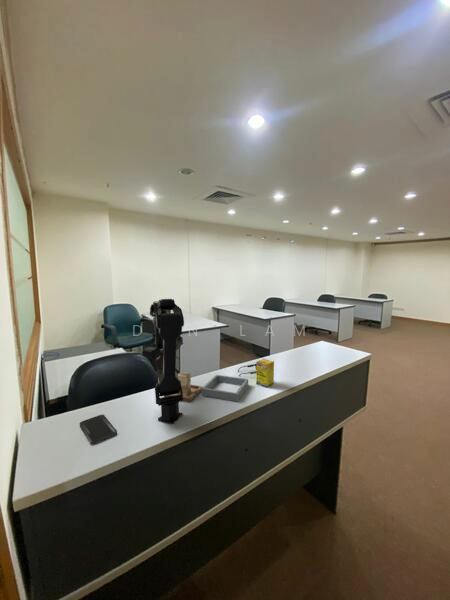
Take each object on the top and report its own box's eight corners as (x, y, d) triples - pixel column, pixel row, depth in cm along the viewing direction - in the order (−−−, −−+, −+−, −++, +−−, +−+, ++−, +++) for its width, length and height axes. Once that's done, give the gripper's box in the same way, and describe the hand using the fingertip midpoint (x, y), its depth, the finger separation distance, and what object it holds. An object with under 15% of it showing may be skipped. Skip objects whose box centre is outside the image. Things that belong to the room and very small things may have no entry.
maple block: (185, 395, 104) (185, 376, 103) (176, 393, 105) (175, 375, 105) (190, 390, 108) (190, 372, 107) (181, 389, 109) (181, 371, 109)
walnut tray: (189, 402, 99) (189, 398, 99) (163, 397, 103) (163, 394, 103) (202, 389, 110) (202, 386, 110) (179, 385, 114) (179, 382, 114)
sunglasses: (263, 377, 123) (262, 367, 123) (239, 381, 123) (238, 371, 122) (259, 369, 134) (258, 360, 133) (237, 373, 133) (236, 364, 133)
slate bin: (237, 401, 99) (237, 394, 99) (201, 395, 105) (201, 388, 105) (248, 385, 114) (248, 379, 114) (216, 380, 120) (216, 374, 119)
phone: (103, 413, 90) (117, 432, 79) (103, 416, 90) (118, 435, 79) (78, 422, 85) (90, 443, 74) (78, 425, 85) (90, 446, 74)
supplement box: (256, 384, 115) (256, 361, 114) (263, 380, 120) (263, 358, 119) (266, 388, 111) (266, 364, 110) (274, 383, 115) (274, 361, 115)
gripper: (164, 337, 92) (165, 378, 93) (190, 328, 109) (191, 362, 110) (140, 335, 96) (142, 374, 97) (169, 326, 113) (170, 359, 114)
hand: (163, 367), depth 105 cm, fingers open, 9 cm apart
